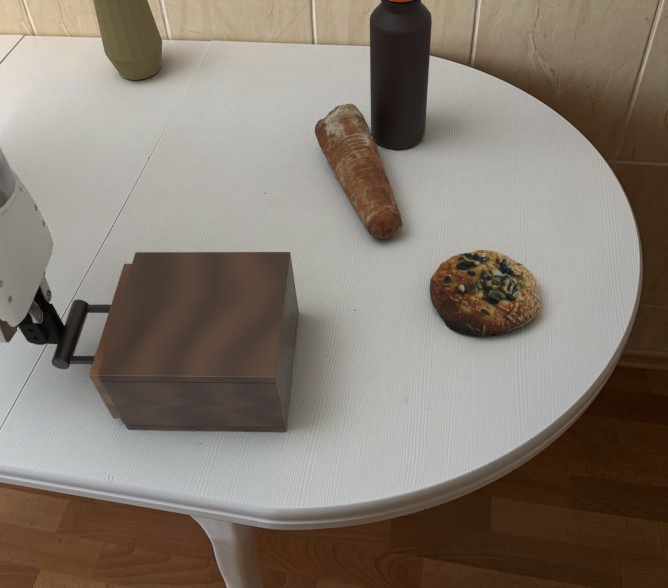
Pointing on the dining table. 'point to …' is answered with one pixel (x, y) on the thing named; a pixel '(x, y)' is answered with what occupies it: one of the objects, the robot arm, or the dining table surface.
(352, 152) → the bread
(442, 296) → the bread roll
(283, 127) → the dining table surface
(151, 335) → the cabinet
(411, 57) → the vinegar
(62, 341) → the drawer
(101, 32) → the squeeze bottle
